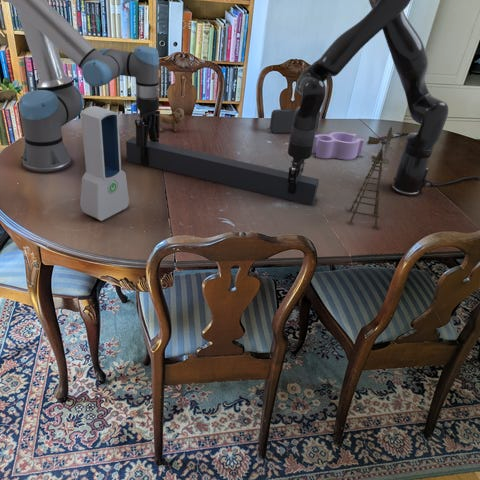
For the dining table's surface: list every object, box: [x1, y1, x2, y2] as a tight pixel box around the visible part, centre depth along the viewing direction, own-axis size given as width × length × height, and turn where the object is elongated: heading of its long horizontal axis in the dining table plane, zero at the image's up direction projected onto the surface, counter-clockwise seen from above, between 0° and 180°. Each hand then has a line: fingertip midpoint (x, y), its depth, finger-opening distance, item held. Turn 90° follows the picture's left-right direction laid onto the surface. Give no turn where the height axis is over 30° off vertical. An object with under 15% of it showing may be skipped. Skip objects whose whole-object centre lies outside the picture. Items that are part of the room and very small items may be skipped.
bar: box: [125, 136, 320, 206], centre depth 160 cm, size 68×5×7 cm, turn 71°
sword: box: [376, 132, 410, 141], centre depth 214 cm, size 31×3×1 cm, turn 126°
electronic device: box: [79, 105, 130, 222], centre depth 129 cm, size 12×8×30 cm, turn 148°
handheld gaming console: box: [269, 108, 322, 134], centre depth 207 cm, size 23×3×10 cm, turn 108°
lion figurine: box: [159, 107, 185, 133], centre depth 195 cm, size 15×5×9 cm, turn 110°
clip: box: [312, 131, 366, 161], centre depth 190 cm, size 20×12×7 cm, turn 109°
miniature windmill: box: [349, 126, 393, 228], centre depth 139 cm, size 9×8×30 cm
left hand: (148, 161), depth 168 cm, fingers closed on bar, 5 cm apart
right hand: (293, 189), depth 154 cm, fingers closed on bar, 5 cm apart
